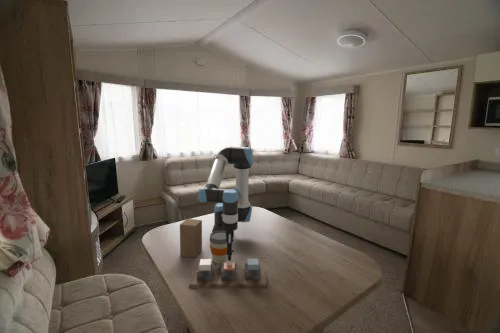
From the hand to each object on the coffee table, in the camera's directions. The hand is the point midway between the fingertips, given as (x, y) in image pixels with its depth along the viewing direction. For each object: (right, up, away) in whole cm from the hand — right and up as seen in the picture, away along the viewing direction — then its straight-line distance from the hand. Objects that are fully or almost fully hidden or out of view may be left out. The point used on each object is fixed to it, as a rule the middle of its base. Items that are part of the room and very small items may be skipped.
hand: (229, 265), depth 127 cm
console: (0, -8, +1) cm, 8 cm away
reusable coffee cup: (-7, -4, +20) cm, 22 cm away
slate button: (+12, -3, +1) cm, 12 cm away
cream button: (-12, -3, 0) cm, 12 cm away
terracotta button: (0, -5, +1) cm, 5 cm away
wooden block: (-25, -3, +26) cm, 36 cm away
